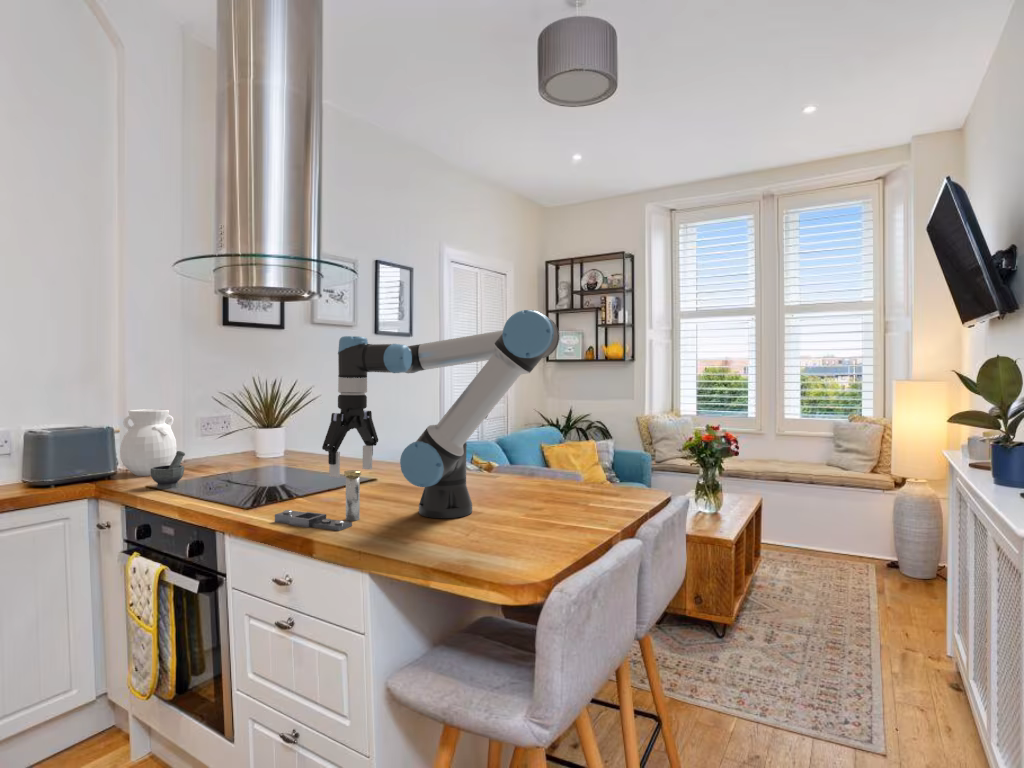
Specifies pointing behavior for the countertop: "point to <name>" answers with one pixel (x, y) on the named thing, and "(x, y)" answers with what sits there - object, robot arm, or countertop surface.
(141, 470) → the white handled vase
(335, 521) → the grey mounting bracket
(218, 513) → the countertop surface
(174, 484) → the mortar and pestle
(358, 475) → the pin
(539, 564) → the countertop surface
